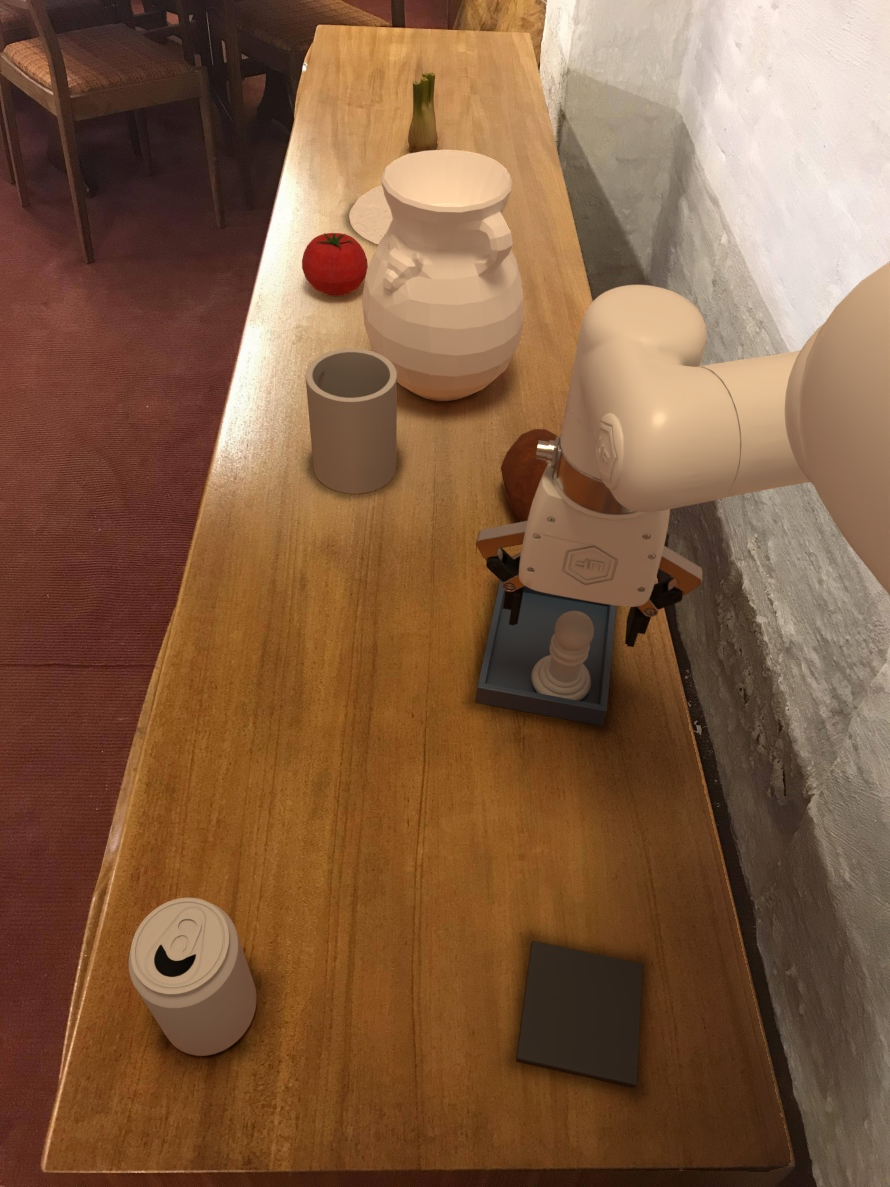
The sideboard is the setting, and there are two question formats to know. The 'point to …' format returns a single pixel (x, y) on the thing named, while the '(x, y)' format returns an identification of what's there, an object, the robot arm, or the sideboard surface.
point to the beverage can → (193, 975)
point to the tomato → (334, 264)
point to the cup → (353, 419)
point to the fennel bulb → (423, 116)
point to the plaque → (371, 215)
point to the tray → (529, 642)
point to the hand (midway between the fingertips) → (572, 622)
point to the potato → (524, 471)
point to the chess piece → (566, 659)
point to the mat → (581, 1013)
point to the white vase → (445, 275)
